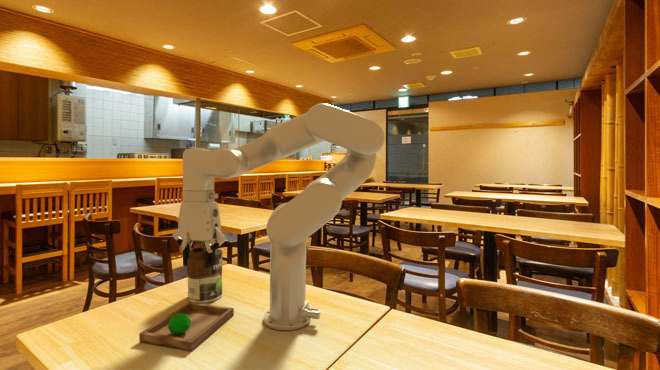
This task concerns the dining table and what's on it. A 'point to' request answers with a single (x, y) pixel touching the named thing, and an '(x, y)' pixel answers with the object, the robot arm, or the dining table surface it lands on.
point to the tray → (200, 329)
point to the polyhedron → (179, 323)
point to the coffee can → (207, 284)
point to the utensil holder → (197, 263)
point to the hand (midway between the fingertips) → (199, 264)
